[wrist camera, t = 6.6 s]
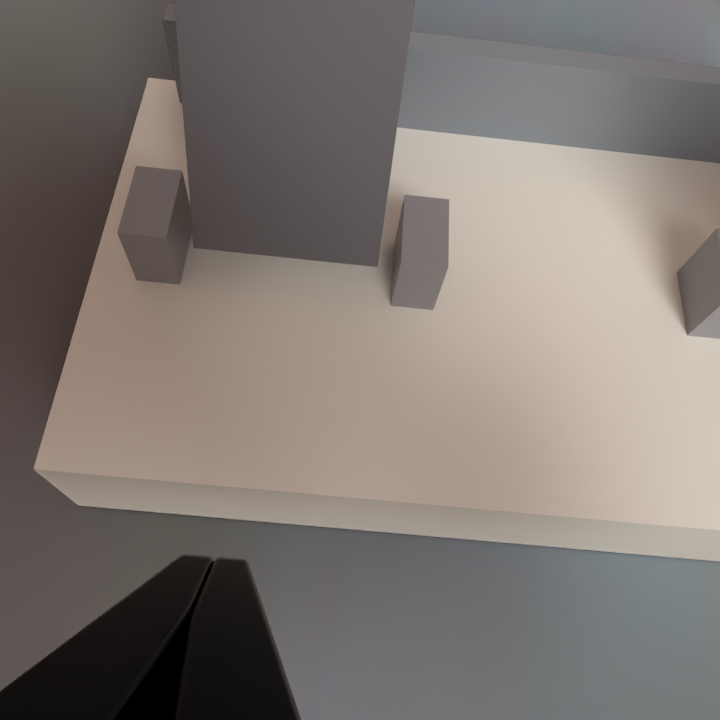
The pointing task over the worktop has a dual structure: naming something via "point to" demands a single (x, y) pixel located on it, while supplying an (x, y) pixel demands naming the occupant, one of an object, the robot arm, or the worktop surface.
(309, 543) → the worktop surface
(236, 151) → the grey rectangular carton
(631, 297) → the switch panel
